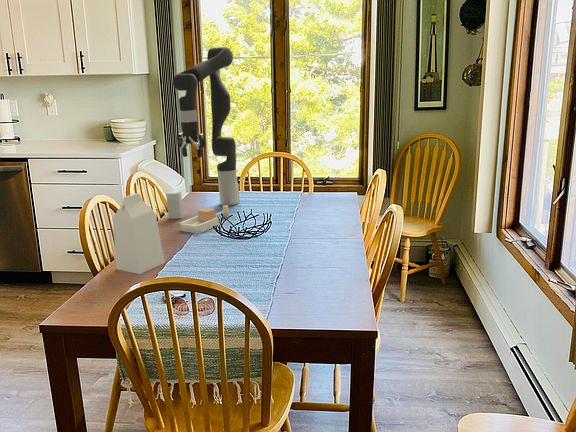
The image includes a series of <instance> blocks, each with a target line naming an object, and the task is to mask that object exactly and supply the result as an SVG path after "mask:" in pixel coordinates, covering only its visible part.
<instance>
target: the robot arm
mask: <svg viewBox="0 0 576 432" xmlns="http://www.w3.org/2000/svg"><path fill="white" fill-rule="evenodd" d="M233 61H234V54H233V51H232V49H231V48H230V47H228V46H218V47H210V48H209V49H208V51H207V59H206V60H203V61H200V62H198V63H196V64H195V65H193V66H191V67H190V68H189V69H185V70H183V71H182V72H179V73H177V74H176V75H174V77H173V79H172V85H173V87H174V89H175V90H177V91H179V92H180V91H185V95H184V96H180V97H179V99H178V104H179V105H178V106H179V120H180V131H181V132H180V133H177V134H176V136H177V137H176V139H177V147H178V148H181V154H182V157H184V158H187V157H188V148H187V147H188V145H189V144H191V145H193V146H195V148H196V153H197V158H199V159H200V158H202V157H203V149H204V148H206V141H205V139H206V138H205V134H204V133H201V134H199V133H198V132H199V121H198V112H197V106H196V105H197V104H196V98H197V97H196V96H197V91H198V90H197V89H198V85H199V83H200V82H202V81H203V80H205V79H207V77H209V82H210V83H209V84H210V108H211V121H212V122H211V127H212V128H211V150H212V154H213V155H214V156H216V157H226V160H225V161H223V162H220V163H217V166H216V170H217V179H218V181H217V182H218V193H219V195H218V196H219V205H221V206H224V205H228V206H235V205H237V204H239V202H240V187H239V183H238V177H237V176H238V175H237V150H236V149H237V148H236V141H235V139H234V137H232V136H222V129H223V125H224V124H225V121H226V120H227V118H228V117H229V114H230V111H231V95H230V92H229V90H228V88H227V87H226V85H225V84H224V82H223V80H222V77H221V71H220V70H221V69H224V68H227V67H230V66H231V65H232V63H233Z"/></svg>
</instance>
